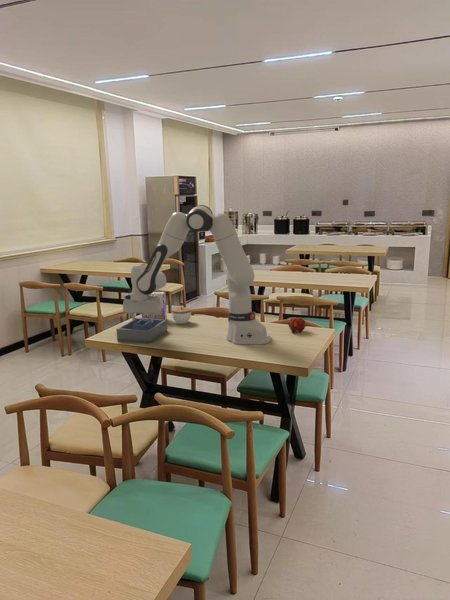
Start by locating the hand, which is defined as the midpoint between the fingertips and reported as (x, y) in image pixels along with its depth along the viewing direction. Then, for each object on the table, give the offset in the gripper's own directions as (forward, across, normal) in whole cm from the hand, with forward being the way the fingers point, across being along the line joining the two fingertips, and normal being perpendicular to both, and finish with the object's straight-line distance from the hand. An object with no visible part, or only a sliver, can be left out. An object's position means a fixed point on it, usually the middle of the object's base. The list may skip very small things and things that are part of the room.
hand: (143, 321), depth 244 cm
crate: (+7, 0, 0) cm, 7 cm away
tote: (+6, 0, 0) cm, 6 cm away
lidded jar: (+8, -10, -28) cm, 31 cm away
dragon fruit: (+9, -76, -24) cm, 81 cm away
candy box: (+8, +8, -30) cm, 32 cm away
